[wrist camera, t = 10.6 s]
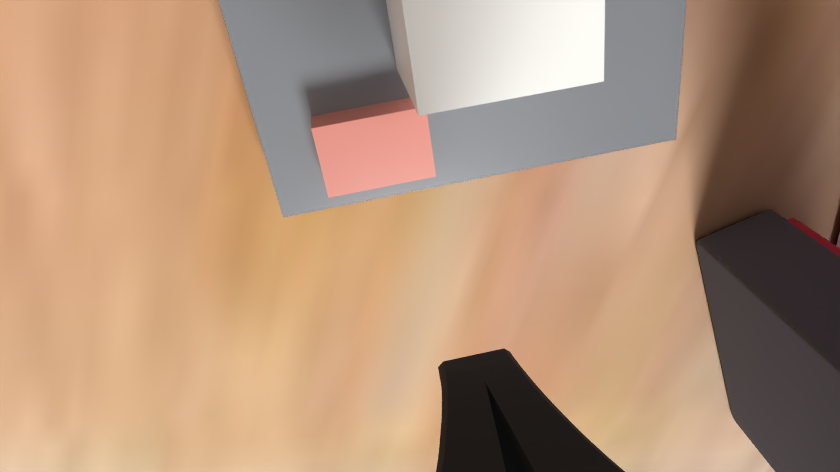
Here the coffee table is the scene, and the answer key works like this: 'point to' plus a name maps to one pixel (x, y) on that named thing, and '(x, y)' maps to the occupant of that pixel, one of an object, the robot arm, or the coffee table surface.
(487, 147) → the socket
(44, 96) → the coffee table surface
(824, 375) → the dark grey red box
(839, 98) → the coffee table surface
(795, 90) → the coffee table surface
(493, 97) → the white rectangular box
